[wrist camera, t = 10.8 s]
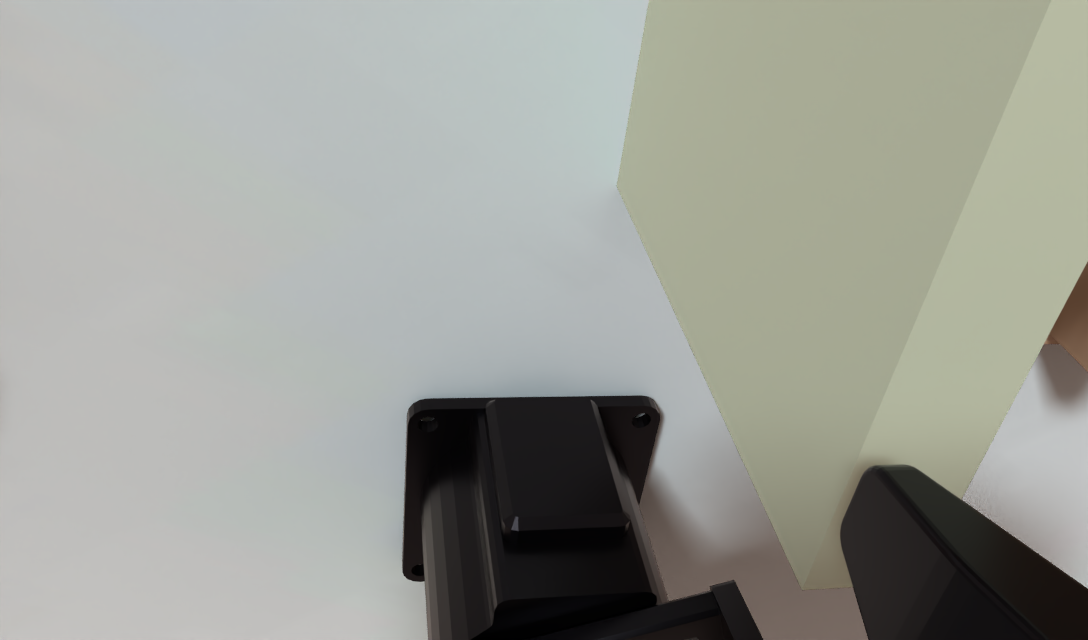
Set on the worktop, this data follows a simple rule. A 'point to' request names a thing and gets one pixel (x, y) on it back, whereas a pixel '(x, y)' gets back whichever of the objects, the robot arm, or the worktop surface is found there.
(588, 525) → the robot arm
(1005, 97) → the green sheet
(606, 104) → the worktop surface
